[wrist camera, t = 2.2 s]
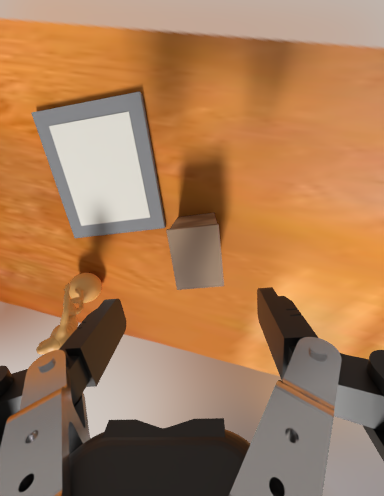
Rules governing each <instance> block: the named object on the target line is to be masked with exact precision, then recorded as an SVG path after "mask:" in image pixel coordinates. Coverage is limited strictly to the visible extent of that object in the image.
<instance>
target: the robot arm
mask: <svg viewBox="0 0 384 496" xmlns="http://www.w3.org/2000/svg"><path fill="white" fill-rule="evenodd" d="M257 304H258V319H259V323H260V325H261V328H262V330H263V333H264V336H265V338H266V341H267V343H268V346H269V349H270V351H271V354H272V356H273V359H274V361H275V364H276V367H277V369H278V372H279V374H280V377H281V379H282V381H281V380H278V382H277V383H276V385H275V387H274V390H273V392H272V395H271V397H270V399H269V402H268V404H267V407H266V409H265V411H264V414H263V416H262V418H261V421H260V423H259V425H258V428H257V430H256V432H255V435H254V437H253V440H252V442H251V444H250V443H249V442H248V441H247V440H245V439H244V438H242V437H241V436H239V435H237V434H235V433H233V432H231V431H228V430H225V426H224V419H193V420H189V421H186V422H183V423H180V424H177V425H174V426H171V427H168V428H163V429H162V428H159V427H156V426H153V425H150V424H147V423H144V422H141V421H138V420H109V422H108V424H107V427H106V430H105V432H103V433H101V434H99V435H97V436H95V437H93V438H91V439H90V435H89V427H88V419H87V412H86V404H85V397H84V394H83V391H84V389H85V388H86V387H90V386H97V384H98V382H99V380H100V378H101V376H102V375H103V373H104V371H105V369H106V367H107V365H108V363H109V361H110V359H111V357H112V355H113V353H114V351H115V349H116V347H117V345H118V344H119V342H120V339H121V338H122V336H123V334H124V332H125V329H126V318H125V315H124V311H123V308H122V305H121V301H120V300H119V299H109V300H104V301H103V303H102V304H101V305H100V306H99V307H98V309H96V310H94V311H93V312H91V313H90V314H89V315H88V316H87V317H86V318H85V319H84V320H83V321H82V323H81V324H80V325H79V326H78V327H77V329H76V330H75V331H74V332H73V333H72V334H71V336H70V337H69V338H68V339H67V340H66V342H65V343H64V344H63V345H62V346H61V347H60V349H59V350H54V351H51V352H48V353H46V354H44V355H42V356H41V357H39V358H38V359H37V360H36V361H34V362H33V363H32V364H31V366H30V367H29V368H28V369H26V370H23V371H20V372H16V373H13V374H11V373H10V371H9V369H8V368H7V367H6V366H0V496H322V492H323V486H324V478H325V472H326V465H327V458H328V452H329V445H330V438H331V431H332V424H333V417H334V416H335V417H339V418H342V419H345V420H348V421H351V422H354V423H357V424H360V425H363V427H364V429H365V430H366V432H367V434H368V435H369V437H370V439H371V440H372V442H373V444H374V446H375V447H376V449H377V451H378V452H379V454H380V456H381V457H382V459H383V461H384V350H377V351H374V352H372V353H371V354H370V356H369V359H364V358H359V357H354V356H349V355H345V354H342V353H339V351H338V350H337V349H336V348H335V347H334V346H333V345H332V344H330V343H329V342H327V341H325V340H322V339H320V338H318V337H317V335H316V334H315V332H314V331H313V330H312V328H311V327H310V325H309V324H308V323H307V321H306V320H305V319H304V317H303V316H302V315H301V313H300V312H299V310H297V307H296V306H295V305H294V303H293V302H292V301H291V300H289V299H288V298H286V297H285V296H278V295H277V294H276V292H275V291H274V289H273V288H272V287H271V288H258V290H257Z"/></svg>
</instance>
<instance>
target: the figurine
mask: <svg viewBox="0 0 384 496" xmlns="http://www.w3.org/2000/svg"><path fill="white" fill-rule="evenodd" d="M101 290H102V283H101V280H100V279H99V278H98V277H97V276H96V275H94V274H92V273H81V274H79V275H77V276H75V277H74V278H73V279H72V280H71V282H70V284H69V283H68V284H67V285H66V286H65V289H64V291H65V295H64V303H63V307H64V309H63V314H62V318H61V322H60V325H58V326H57V327H56V328H55V329H54V330H53V332H52V334H51V336H50V338H48V339H47V340H44V341H42V342H41V343H40V344H39V346H38V347H37V349H36V350H37V353H38V354H46V353H48V352H51V351H54V350H59V349H60V347H61V346H62V345H63V344H64V343H65V342H66V340H67V339H68V338H69V337H70V336H71V334H72V333H73V332H74V331H75V330H76V329H77V326H78V322H77V318H76V316H75V315H76V314H79V313H80V312H81V310H82V309H83V308H84V306H83V303H86V302H90V301H92V300H94V299H96V298H97V297H98V296H99V294H100V292H101ZM70 296H71V298H72V299H70ZM73 303H78V304H79V308H76V307H75V306H74V304H73Z"/></svg>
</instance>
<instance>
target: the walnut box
mask: <svg viewBox="0 0 384 496" xmlns="http://www.w3.org/2000/svg"><path fill="white" fill-rule="evenodd" d="M166 231H167V236H168V242H169V247H170V253H171V258H172V264H173V269H174V275H175V280H176V286H177V290H181V289H193V288H206V287H219V286H224V280H223V268H222V257H221V246H220V234H219V224H218V223H217V221H216V217H215V213H207V214H199V215H190V216H182V217H178V218H177V219H176V221H175V222H174V224H173V225H172V226H171V228H170V229H167V230H166Z"/></svg>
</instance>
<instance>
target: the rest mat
mask: <svg viewBox="0 0 384 496" xmlns="http://www.w3.org/2000/svg"><path fill="white" fill-rule="evenodd" d="M32 116H33V119H34V122H35V124H36V127H37V130H38V133H39V136H40V139H41V142H42V145H43V148H44V151H45V153H46V156H47V159H48V162H49V165H50V168H51V171H52V174H53V177H54V179H55V182H56V185H57V188H58V191H59V194H60V197H61V200H62V203H63V206H64V208H65V211H66V214H67V217H68V220H69V223H70V226H71V229H72V232H73V234H74V237H75V238H81V237H90V236H98V235H107V234H116V233H125V232H133V231H142V230H151V229H160V228H165V227H166V224H165V218H164V213H163V207H162V202H161V196H160V190H159V185H158V179H157V174H156V168H155V163H154V157H153V151H152V146H151V140H150V135H149V129H148V124H147V118H146V112H145V107H144V101H143V96H142V94H141V92H135V93H130V94H125V95H120V96H114V97H109V98H104V99H99V100H94V101H89V102H84V103H79V104H73V105H68V106H63V107H58V108H53V109H48V110H43V111H38V112H33V113H32Z"/></svg>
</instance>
